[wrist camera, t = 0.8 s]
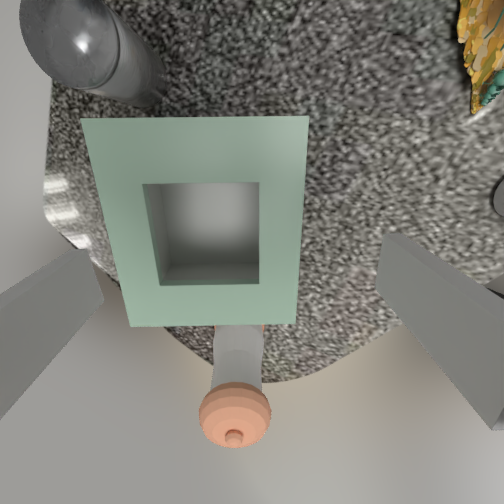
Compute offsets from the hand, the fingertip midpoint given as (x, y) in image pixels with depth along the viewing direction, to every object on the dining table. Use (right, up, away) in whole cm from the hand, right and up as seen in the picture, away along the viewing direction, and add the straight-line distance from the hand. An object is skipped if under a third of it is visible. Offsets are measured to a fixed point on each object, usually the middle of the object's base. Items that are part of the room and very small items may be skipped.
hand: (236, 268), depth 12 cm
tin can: (-11, +20, +16) cm, 28 cm away
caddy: (-3, +7, +22) cm, 23 cm away
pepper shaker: (-1, -9, +29) cm, 30 cm away
